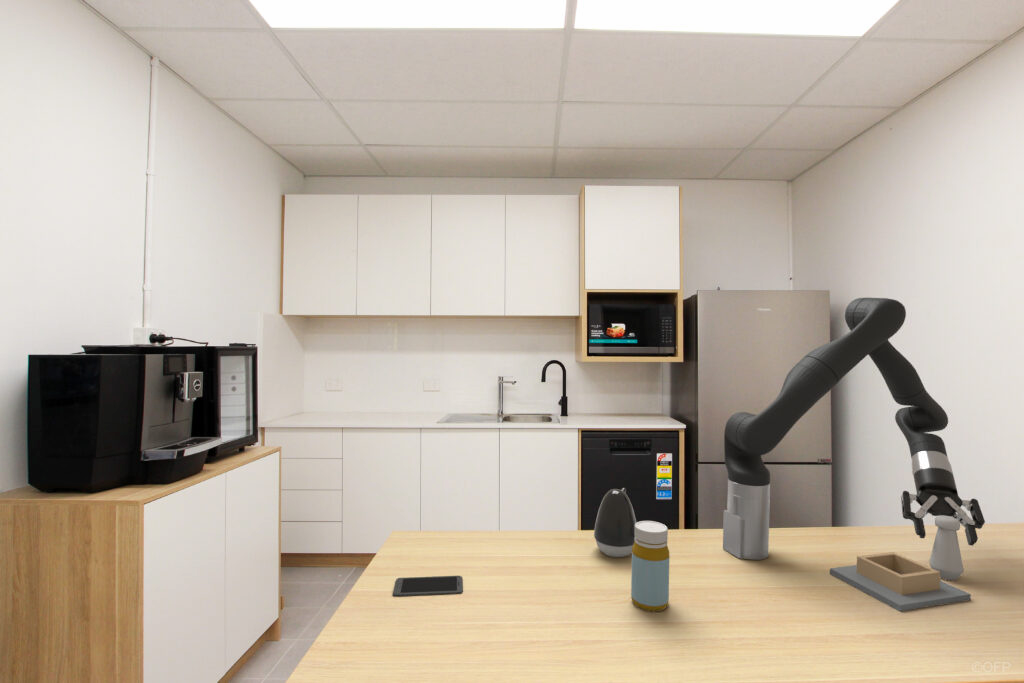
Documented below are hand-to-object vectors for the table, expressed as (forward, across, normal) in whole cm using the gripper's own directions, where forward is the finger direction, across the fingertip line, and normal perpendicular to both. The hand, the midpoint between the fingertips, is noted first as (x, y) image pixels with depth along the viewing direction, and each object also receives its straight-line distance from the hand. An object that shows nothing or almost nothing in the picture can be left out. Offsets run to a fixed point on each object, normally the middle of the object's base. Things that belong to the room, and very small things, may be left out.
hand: (947, 540), depth 116 cm
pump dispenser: (+20, -68, -8) cm, 71 cm away
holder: (+13, -11, -2) cm, 17 cm away
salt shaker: (+6, 0, +6) cm, 8 cm away
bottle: (+34, -56, -23) cm, 70 cm away
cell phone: (+44, -98, -32) cm, 112 cm away
